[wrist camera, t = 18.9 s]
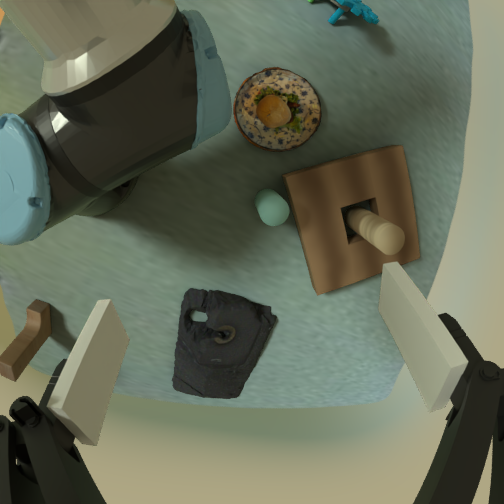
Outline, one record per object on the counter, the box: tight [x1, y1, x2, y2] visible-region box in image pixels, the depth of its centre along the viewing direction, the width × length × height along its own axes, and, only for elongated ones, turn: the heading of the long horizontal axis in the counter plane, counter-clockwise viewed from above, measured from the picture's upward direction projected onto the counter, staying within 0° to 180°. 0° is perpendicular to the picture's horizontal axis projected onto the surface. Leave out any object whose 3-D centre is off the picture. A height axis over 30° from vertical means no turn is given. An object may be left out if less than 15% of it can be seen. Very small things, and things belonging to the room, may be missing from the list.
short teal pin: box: [255, 189, 289, 226], centre depth 41 cm, size 4×4×7 cm
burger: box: [233, 67, 321, 152], centre depth 37 cm, size 12×12×8 cm
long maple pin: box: [344, 205, 405, 255], centre depth 40 cm, size 4×4×12 cm
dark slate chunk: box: [172, 288, 277, 399], centre depth 50 cm, size 15×22×5 cm
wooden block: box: [0, 299, 52, 381], centre depth 41 cm, size 7×3×15 cm, turn 165°
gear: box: [308, 0, 379, 24], centre depth 33 cm, size 11×6×10 cm
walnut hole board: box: [282, 145, 420, 295], centre depth 45 cm, size 18×18×3 cm
